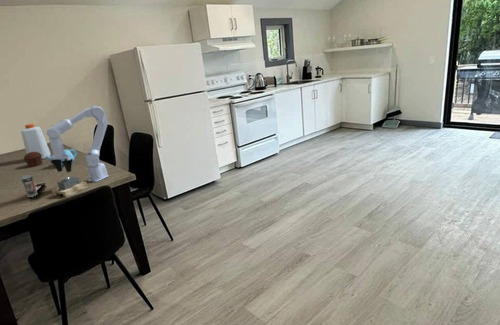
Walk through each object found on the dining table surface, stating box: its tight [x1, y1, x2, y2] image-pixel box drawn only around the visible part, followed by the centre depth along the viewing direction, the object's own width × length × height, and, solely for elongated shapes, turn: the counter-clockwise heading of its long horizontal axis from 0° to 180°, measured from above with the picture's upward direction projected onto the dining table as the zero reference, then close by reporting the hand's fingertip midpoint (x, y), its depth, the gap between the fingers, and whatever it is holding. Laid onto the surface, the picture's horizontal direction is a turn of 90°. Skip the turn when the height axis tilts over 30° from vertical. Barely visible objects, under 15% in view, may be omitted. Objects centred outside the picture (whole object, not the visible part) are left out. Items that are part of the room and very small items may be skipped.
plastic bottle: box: [20, 123, 52, 160], centre depth 256 cm, size 15×15×28 cm
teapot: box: [46, 148, 78, 167], centre depth 231 cm, size 20×17×12 cm
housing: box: [56, 175, 82, 191], centre depth 175 cm, size 12×5×5 cm, turn 157°
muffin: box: [23, 152, 43, 168], centre depth 239 cm, size 12×11×10 cm
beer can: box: [20, 174, 38, 198], centre depth 173 cm, size 5×5×12 cm
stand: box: [51, 181, 89, 198], centre depth 176 cm, size 14×10×3 cm
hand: (64, 171), depth 181 cm, fingers open, 7 cm apart
